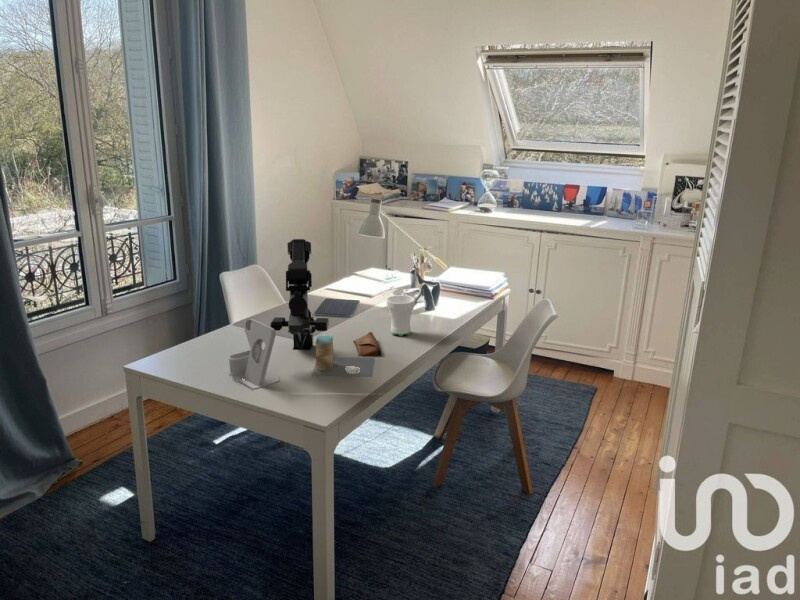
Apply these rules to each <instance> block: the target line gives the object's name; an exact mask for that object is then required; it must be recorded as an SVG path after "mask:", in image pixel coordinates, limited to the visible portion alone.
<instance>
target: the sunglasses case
mask: <svg viewBox="0 0 800 600" xmlns="http://www.w3.org/2000/svg"><path fill="white" fill-rule="evenodd" d="M352 342H353V343H354V345H355V348H356V351H357V356H358V357H361V358H366V357H379V356H380V357H381V356H382V351H381V347H380V346H379V344H378V341H377V339H376V337H375V335H374V334H373V332H372V331H369V332H368V333H367V334H365V335H363V336H361V337H359V338H356V339H355V340H353V341H352Z"/></svg>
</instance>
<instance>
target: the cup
mask: <svg viewBox="0 0 800 600" xmlns="http://www.w3.org/2000/svg"><path fill="white" fill-rule="evenodd" d="M385 300H386V302H385V303H386V306H387V308H388V310H389V314H390V315H389V316H390V321H391V322H390V323H391V326H390V332H391V334H392V336H396V335H398V336H399V337H400V336H401V337H403V336H404V335H405V336H409V335H410V332H411V325H410V324H411V316H412V312H413V309H414V307H416V299H415V297H413V296H410V295H405V294H404V295H403V294H401V295H399V294H397V295H392V296H391V295H390V296H388V297H387V298H386V299H385Z"/></svg>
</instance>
